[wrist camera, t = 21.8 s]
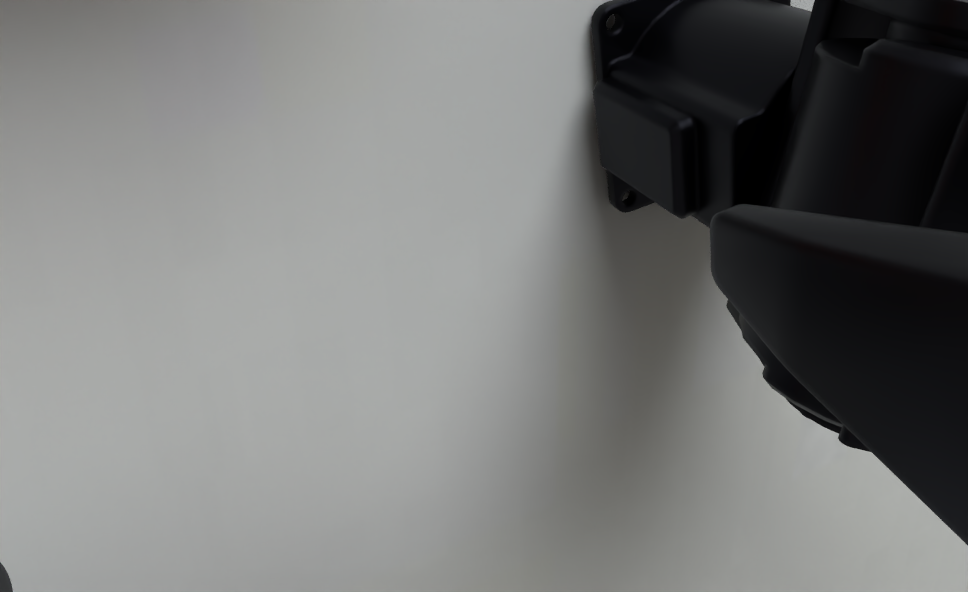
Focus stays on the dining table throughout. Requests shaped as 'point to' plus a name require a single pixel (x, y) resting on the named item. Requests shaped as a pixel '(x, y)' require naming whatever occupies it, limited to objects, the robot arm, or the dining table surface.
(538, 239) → the dining table surface
